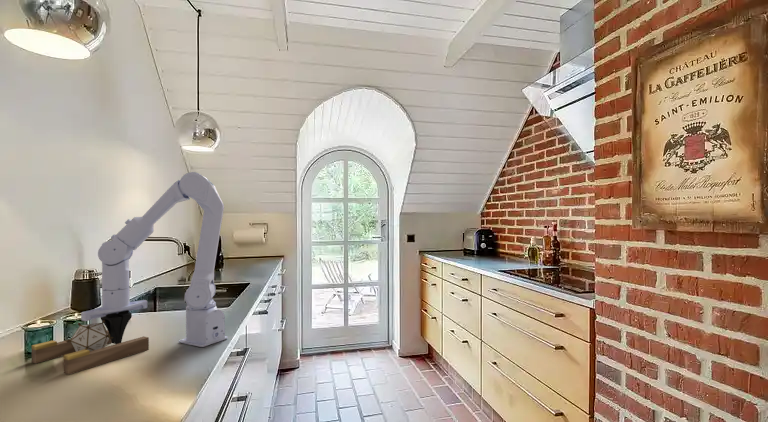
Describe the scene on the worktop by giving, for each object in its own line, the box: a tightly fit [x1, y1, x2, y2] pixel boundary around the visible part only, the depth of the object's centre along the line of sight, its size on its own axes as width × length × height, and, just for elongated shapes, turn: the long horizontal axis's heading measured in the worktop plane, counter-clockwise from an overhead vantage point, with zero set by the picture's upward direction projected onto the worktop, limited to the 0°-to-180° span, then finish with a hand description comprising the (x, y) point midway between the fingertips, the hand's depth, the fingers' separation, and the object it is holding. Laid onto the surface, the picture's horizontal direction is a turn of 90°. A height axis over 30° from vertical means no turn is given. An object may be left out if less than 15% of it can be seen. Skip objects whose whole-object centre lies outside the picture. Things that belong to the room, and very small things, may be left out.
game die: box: [65, 320, 113, 352], centre depth 94 cm, size 9×8×10 cm
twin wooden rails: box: [31, 329, 150, 375], centre depth 94 cm, size 16×17×4 cm
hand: (116, 342), depth 99 cm, fingers closed
